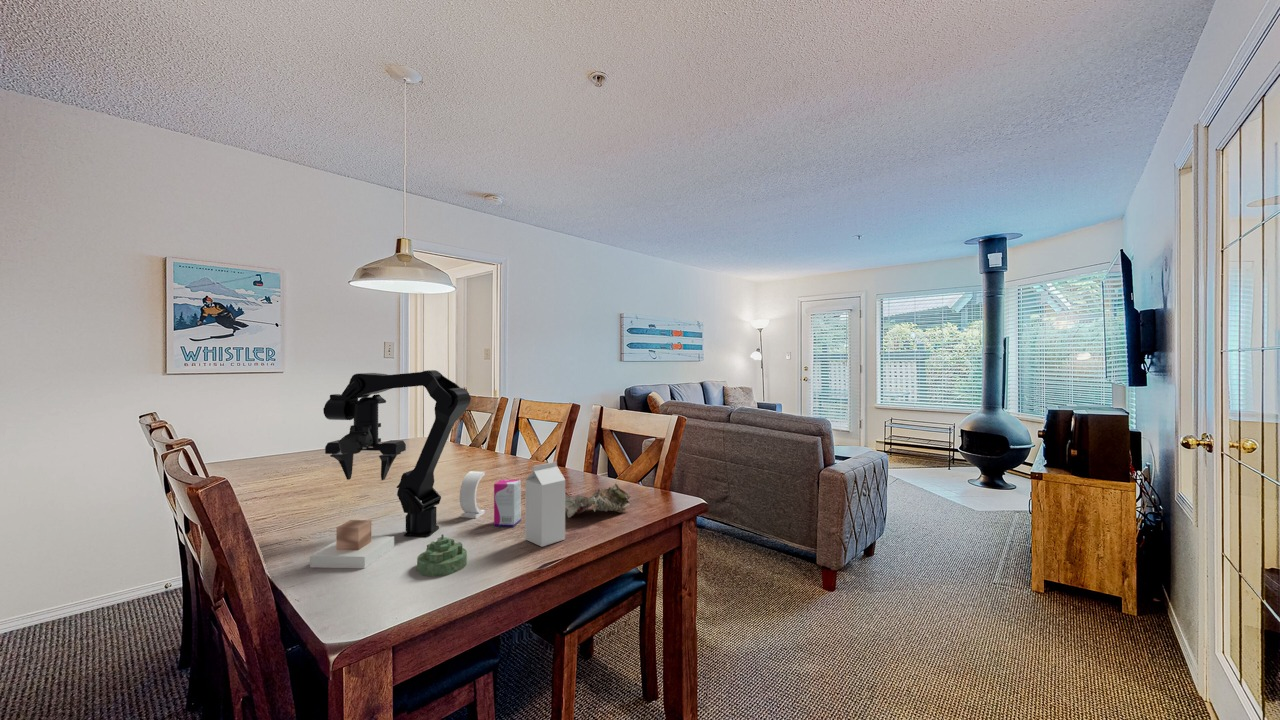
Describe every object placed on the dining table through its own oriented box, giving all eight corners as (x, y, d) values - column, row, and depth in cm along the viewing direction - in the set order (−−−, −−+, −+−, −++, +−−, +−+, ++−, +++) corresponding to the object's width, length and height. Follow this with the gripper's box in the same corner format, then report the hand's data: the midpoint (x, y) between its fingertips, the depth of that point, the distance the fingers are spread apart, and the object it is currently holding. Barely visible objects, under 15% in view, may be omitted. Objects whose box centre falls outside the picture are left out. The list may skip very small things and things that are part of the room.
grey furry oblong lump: (600, 498, 159) (600, 474, 159) (638, 507, 150) (638, 482, 150) (541, 518, 140) (541, 491, 140) (580, 531, 130) (580, 502, 130)
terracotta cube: (371, 541, 115) (371, 520, 115) (358, 550, 110) (358, 527, 110) (350, 541, 115) (350, 520, 115) (336, 549, 110) (336, 527, 110)
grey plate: (394, 546, 118) (394, 536, 118) (364, 568, 106) (364, 556, 106) (344, 546, 119) (344, 535, 119) (310, 567, 107) (310, 555, 107)
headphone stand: (485, 512, 144) (485, 471, 144) (474, 519, 139) (474, 476, 138) (470, 511, 145) (470, 471, 145) (459, 518, 139) (459, 475, 139)
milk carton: (565, 539, 123) (565, 463, 123) (541, 547, 118) (542, 468, 118) (548, 532, 128) (548, 459, 128) (524, 540, 123) (525, 463, 123)
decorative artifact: (451, 554, 115) (408, 568, 107) (451, 523, 115) (408, 535, 107) (475, 565, 108) (431, 581, 101) (475, 533, 108) (431, 547, 101)
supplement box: (521, 520, 138) (521, 479, 138) (514, 527, 132) (514, 484, 132) (501, 519, 139) (501, 478, 139) (493, 526, 133) (493, 483, 133)
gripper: (310, 424, 123) (310, 487, 123) (384, 425, 122) (384, 488, 122) (338, 418, 134) (338, 476, 134) (406, 419, 133) (406, 477, 133)
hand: (366, 479), depth 131 cm, fingers open, 9 cm apart
